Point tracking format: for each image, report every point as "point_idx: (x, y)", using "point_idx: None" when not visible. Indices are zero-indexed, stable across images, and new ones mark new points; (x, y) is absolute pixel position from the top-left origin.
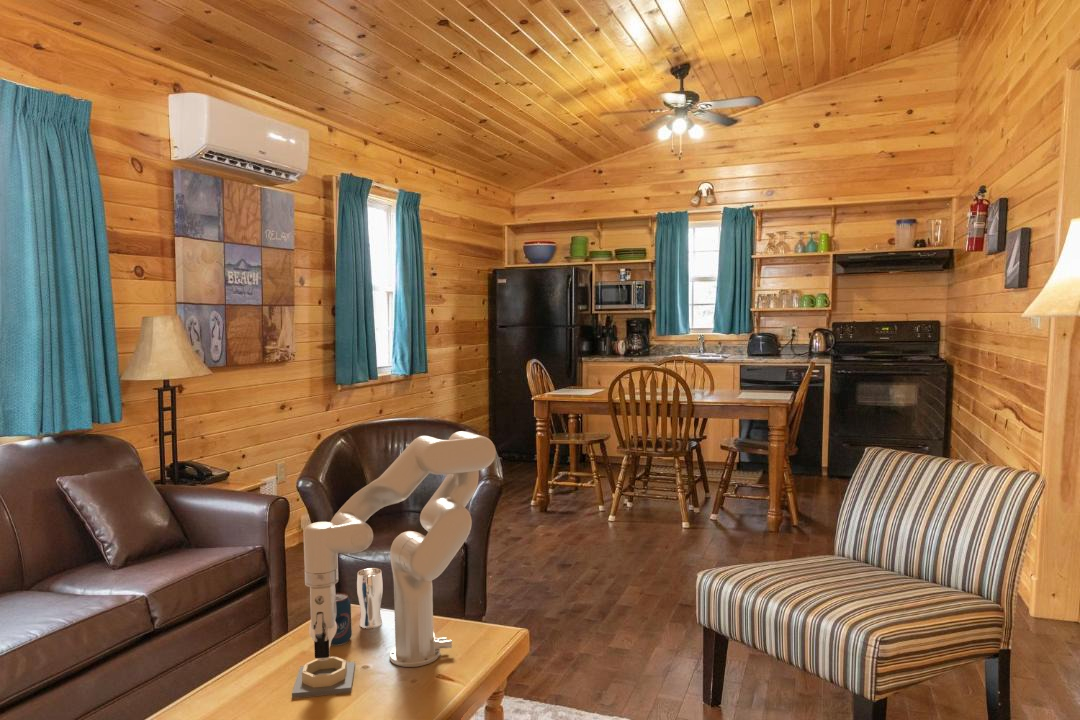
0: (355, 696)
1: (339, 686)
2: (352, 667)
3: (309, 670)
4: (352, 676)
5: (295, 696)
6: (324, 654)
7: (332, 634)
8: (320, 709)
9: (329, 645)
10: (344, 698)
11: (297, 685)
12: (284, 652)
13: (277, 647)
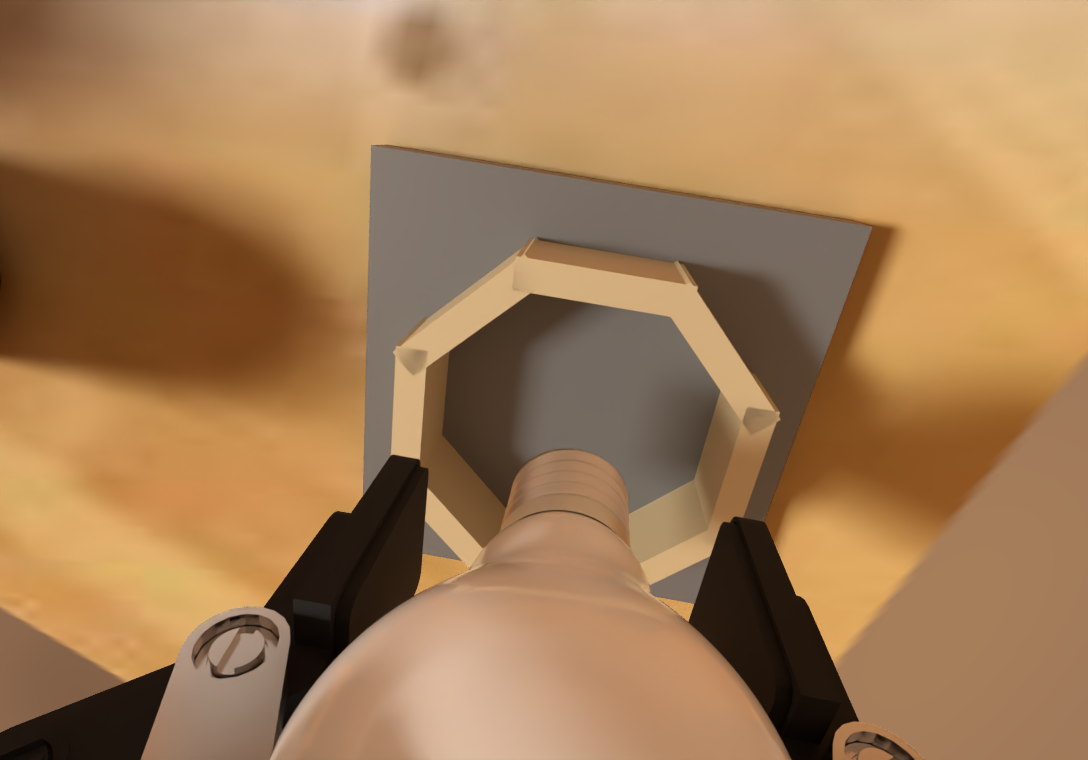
0: (939, 189)
1: (799, 319)
2: (487, 181)
3: (492, 516)
4: (667, 196)
5: None
6: (800, 599)
7: (745, 687)
8: (977, 450)
9: (623, 550)
10: (918, 280)
11: None
12: (102, 579)
13: (35, 606)
